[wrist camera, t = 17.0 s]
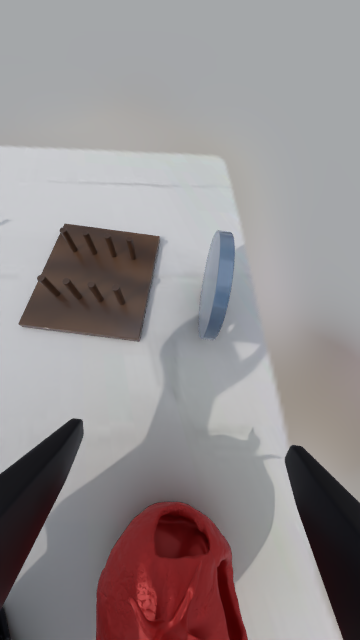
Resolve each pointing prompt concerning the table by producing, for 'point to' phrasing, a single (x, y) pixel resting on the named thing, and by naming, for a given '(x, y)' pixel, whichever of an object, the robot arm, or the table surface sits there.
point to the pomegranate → (169, 580)
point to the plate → (216, 284)
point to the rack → (94, 283)
